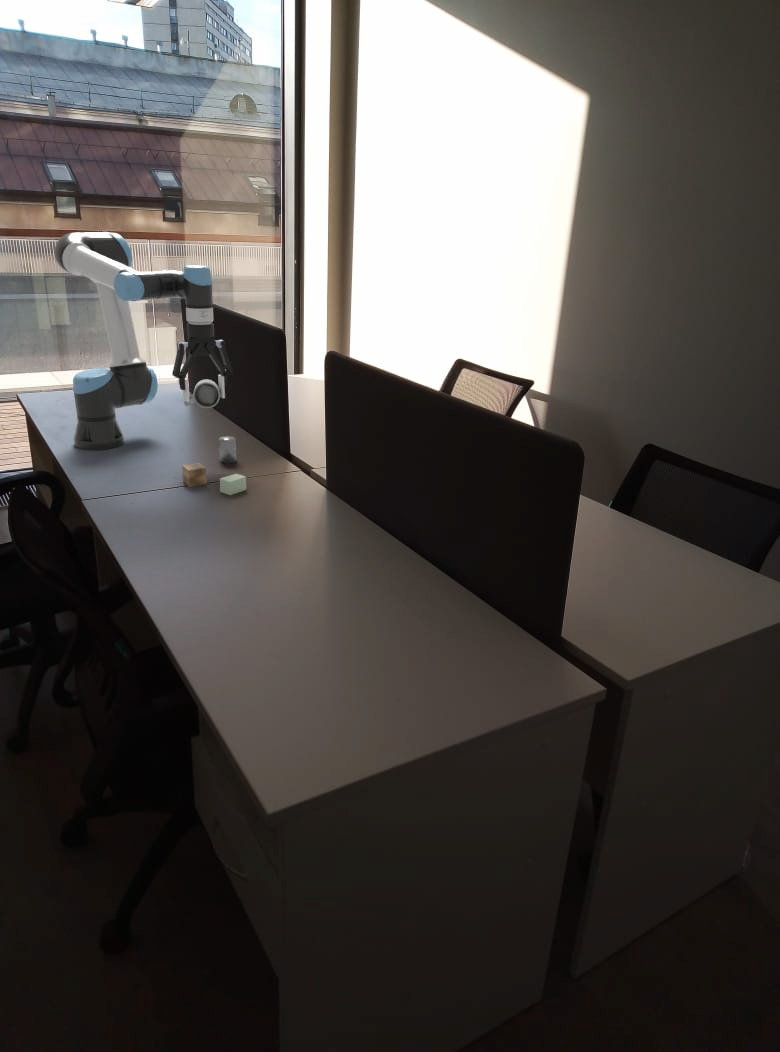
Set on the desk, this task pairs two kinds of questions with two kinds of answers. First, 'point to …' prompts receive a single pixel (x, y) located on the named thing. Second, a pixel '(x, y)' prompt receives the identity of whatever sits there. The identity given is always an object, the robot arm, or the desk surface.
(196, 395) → the ceramic mug
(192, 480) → the walnut block
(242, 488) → the sage green block
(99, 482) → the desk surface
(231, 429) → the desk surface
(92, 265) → the robot arm
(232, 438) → the dark metal cylinder
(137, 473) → the desk surface
